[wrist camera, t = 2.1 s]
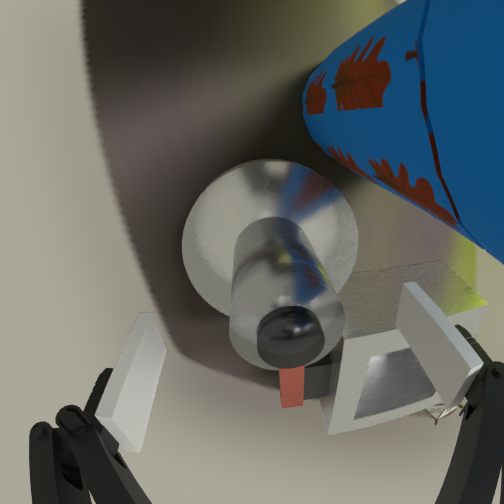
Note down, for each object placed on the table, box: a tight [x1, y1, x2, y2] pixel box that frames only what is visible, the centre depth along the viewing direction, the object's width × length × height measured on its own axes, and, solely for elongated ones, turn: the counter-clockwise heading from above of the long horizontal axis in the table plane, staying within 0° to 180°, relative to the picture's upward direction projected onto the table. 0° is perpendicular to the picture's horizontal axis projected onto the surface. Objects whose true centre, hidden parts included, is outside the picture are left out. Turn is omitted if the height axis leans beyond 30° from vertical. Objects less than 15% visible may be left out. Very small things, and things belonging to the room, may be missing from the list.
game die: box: [423, 402, 463, 425], centre depth 33 cm, size 9×8×10 cm
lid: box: [182, 159, 358, 408], centre depth 19 cm, size 13×13×14 cm
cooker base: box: [303, 260, 489, 435], centre depth 26 cm, size 15×21×9 cm
